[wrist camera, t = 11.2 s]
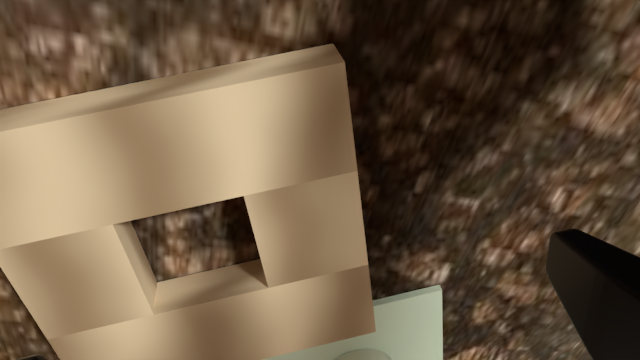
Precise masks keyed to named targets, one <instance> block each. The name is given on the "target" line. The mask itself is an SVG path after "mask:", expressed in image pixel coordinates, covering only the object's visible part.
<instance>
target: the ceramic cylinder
mask: <svg viewBox="0 0 640 360" xmlns="http://www.w3.org/2000/svg"><path fill="white" fill-rule="evenodd" d="M336 360H391V358H390V357H389V356H388V355H387V354H386V353H385V352H383V351H380V350H376V349H360V350H355V351H352V352H349V353H347V354H344V355H342V356H341V357H339V358H338V359H336Z"/></svg>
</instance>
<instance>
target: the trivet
mask: <svg viewBox="0 0 640 360" xmlns="http://www.w3.org/2000/svg"><path fill="white" fill-rule="evenodd" d="M373 310H374V318H375V327H376V332H373V333H369V334H365V335H361V336H357V337H353V338H349V339H344V340H340V341H336V342H332V343H328V344H324V345H320V346H316V347H312V348H308V349H303V350H299V351H295V352H291V353H287V354H283V355H279V356H275V357H271V358H266V359H262V360H336V359H338V358H339V357H341V356H342V355H344V354H347V353H349V352H352V351H355V350H360V349H376V350H380V351H383V352H385V353H386V354H387V355H388V356H389V357H390V358H391V360H443V332H442V289H441V287H440V285H436V286H432V287H427V288H423V289H419V290H415V291H411V292H406V293H402V294H398V295H394V296H390V297H385V298H381V299H377V300H373Z"/></svg>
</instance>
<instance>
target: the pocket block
mask: <svg viewBox="0 0 640 360" xmlns="http://www.w3.org/2000/svg"><path fill="white" fill-rule="evenodd" d="M241 196H244V199H245V203H246V206H247V210H248V214H249V218H250V221H251V225H252V229H253V233H254V236H255V240H256V244H257V247H258V251H259V255H260V259H257V260H253V261H248V262H244V263H240V264H235V265H231V266H227V267H222V268H218V269H214V270H209V271H205V272H200V273H196V274H192V275H187V276H183V277H179V278H174V279H170V280H165V281H161V282H157V281H156V279H155V276H154V274H153V272H152V269H151V267H150V265H149V262H148V260H147V258H146V255H145V253H144V251H143V248H142V246H141V244H140V242H139V239H138V237H137V235H136V232H135V230H134V228H133V225H132V223H131V221H132V220H136V219H141V218H145V217H150V216H154V215H159V214H163V213H168V212H173V211H177V210H182V209H186V208H191V207H195V206H200V205H205V204H209V203H214V202H218V201H223V200H227V199H232V198H237V197H241ZM0 267H1V269H2V270H3V272H4V273H5V275H6V277H7V278H8V280H9V281H10V283H11V284H12V286H13V287H14V289H15V290H16V292H17V294H18V295H19V297H20V298H21V300H22V301H23V303H24V304H25V306H26V307H27V309H28V311H29V312H30V314H31V315H32V317H33V318H34V320H35V321H36V323H37V324H38V326H39V328H40V329H41V331H42V332H43V334H44V335H45V337H46V338H47V340H48V341H49V343H50V345H51V346H52V348H53V349H54V351H55V352H56V354H57V355H58V357H59V358H60V360H262V359H266V358H271V357H275V356H279V355H283V354H287V353H291V352H295V351H299V350H303V349H308V348H312V347H316V346H320V345H324V344H328V343H332V342H336V341H340V340H344V339H349V338H353V337H357V336H361V335H365V334H369V333H373V332H376V327H375V318H374V310H373V301H372V292H371V284H370V275H369V266H368V258H367V249H366V240H365V232H364V223H363V215H362V206H361V197H360V189H359V180H358V171H357V163H356V154H355V145H354V137H353V128H352V120H351V111H350V102H349V94H348V85H347V76H346V68H345V62H344V60H343V58H342V57H341V55H340V54H339V52H338V51H337V49H336V47H335V46H334V44H327V45H322V46H317V47H312V48H307V49H302V50H297V51H292V52H287V53H282V54H277V55H272V56H267V57H262V58H257V59H252V60H247V61H242V62H237V63H232V64H227V65H222V66H217V67H212V68H207V69H202V70H197V71H192V72H187V73H182V74H177V75H172V76H167V77H162V78H157V79H152V80H147V81H142V82H137V83H132V84H127V85H122V86H117V87H112V88H107V89H102V90H97V91H92V92H87V93H82V94H76V95H71V96H66V97H61V98H56V99H51V100H46V101H41V102H36V103H31V104H26V105H21V106H16V107H11V108H6V109H1V110H0Z"/></svg>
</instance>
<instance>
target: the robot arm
mask: <svg viewBox="0 0 640 360" xmlns="http://www.w3.org/2000/svg"><path fill="white" fill-rule="evenodd" d="M546 271H547V275H548V278H549V280H550V282H551V284H552V285H553V287H554V289H555V291H556V293H557V295H558V297H559V299H560V301H561V303H562V304H563V306H564V308H565V310H566V312H567V314H568V316H569V318H570V320H571V321H572V323H573V325H574V327H575V329H576V331H577V333H578V335H579V337H580V338H581V340H582V342H583V344H584V346H585V347H586V349H587V351H588V353H589V354H590V356H591V357H592V359H593V360H640V257H638V256H636V255H633V254H631V253H629V252H627V251H625V250H622V249H620V248H618V247H616V246H613V245H611V244H609V243H607V242H605V241H602V240H600V239H598V238H596V237H594V236H591V235H589V234H587V233H585V232H583V231H580V230H578V229H568V230H563V231H559V232H555V233H553V234H552V236H551V237H550V242H549V249H548V256H547V263H546ZM17 360H47V359H46V357H45V356H43V355H41V354H36V355H32V356H28V357H24V358H19V359H17Z"/></svg>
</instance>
